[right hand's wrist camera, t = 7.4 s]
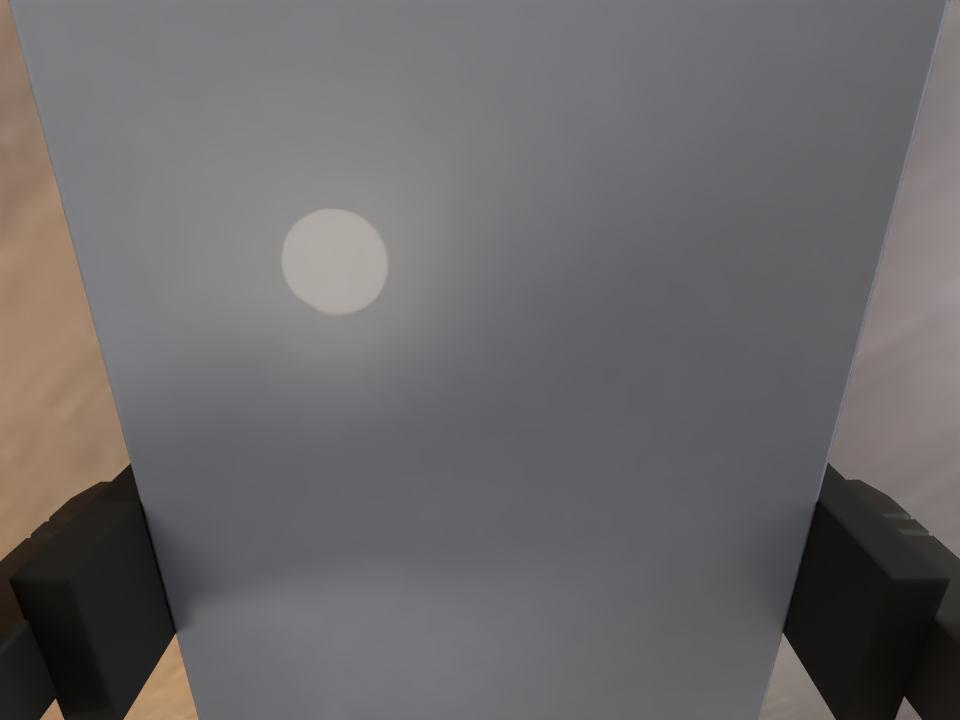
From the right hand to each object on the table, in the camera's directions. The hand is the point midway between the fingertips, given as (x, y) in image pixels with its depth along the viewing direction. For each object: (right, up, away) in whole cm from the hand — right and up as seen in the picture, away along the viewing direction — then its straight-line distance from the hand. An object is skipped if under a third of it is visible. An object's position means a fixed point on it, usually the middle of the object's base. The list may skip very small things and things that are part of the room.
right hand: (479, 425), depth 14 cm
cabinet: (0, +5, +4) cm, 6 cm away
